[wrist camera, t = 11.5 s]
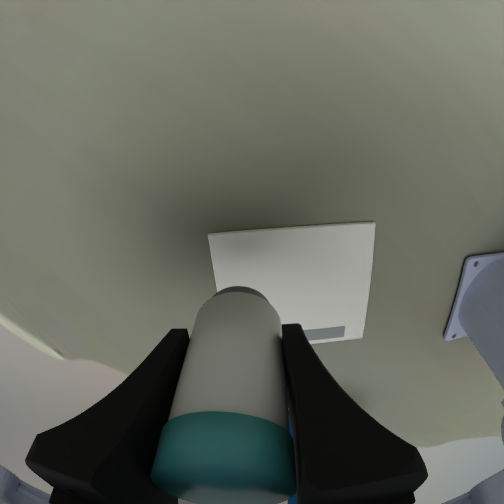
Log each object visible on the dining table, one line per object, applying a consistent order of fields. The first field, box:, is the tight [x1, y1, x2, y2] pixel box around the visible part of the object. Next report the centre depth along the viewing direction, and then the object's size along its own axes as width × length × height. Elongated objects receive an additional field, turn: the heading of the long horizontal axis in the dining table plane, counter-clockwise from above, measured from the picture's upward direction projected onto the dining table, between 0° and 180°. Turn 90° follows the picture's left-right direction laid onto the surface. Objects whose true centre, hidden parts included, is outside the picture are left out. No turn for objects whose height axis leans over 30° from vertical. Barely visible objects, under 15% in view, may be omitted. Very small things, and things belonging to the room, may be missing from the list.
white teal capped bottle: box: [150, 286, 297, 504], centre depth 9 cm, size 4×4×8 cm
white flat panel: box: [208, 222, 375, 344], centre depth 19 cm, size 10×9×1 cm
